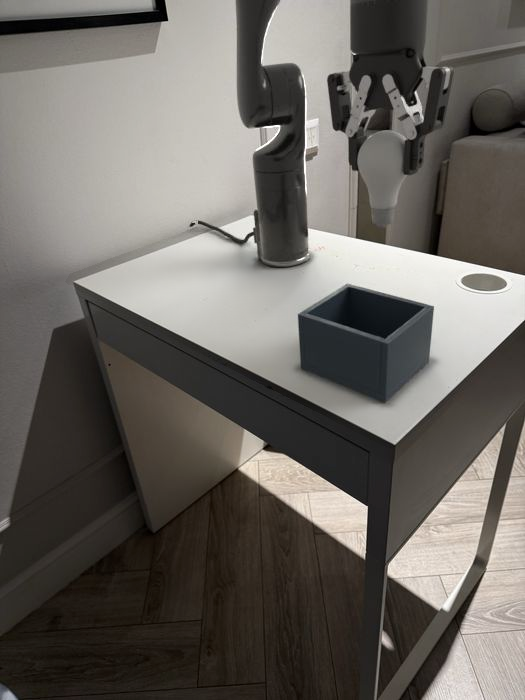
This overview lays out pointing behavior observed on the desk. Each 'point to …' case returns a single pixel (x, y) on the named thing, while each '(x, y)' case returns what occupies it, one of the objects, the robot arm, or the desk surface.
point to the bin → (366, 339)
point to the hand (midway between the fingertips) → (383, 171)
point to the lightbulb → (382, 173)
